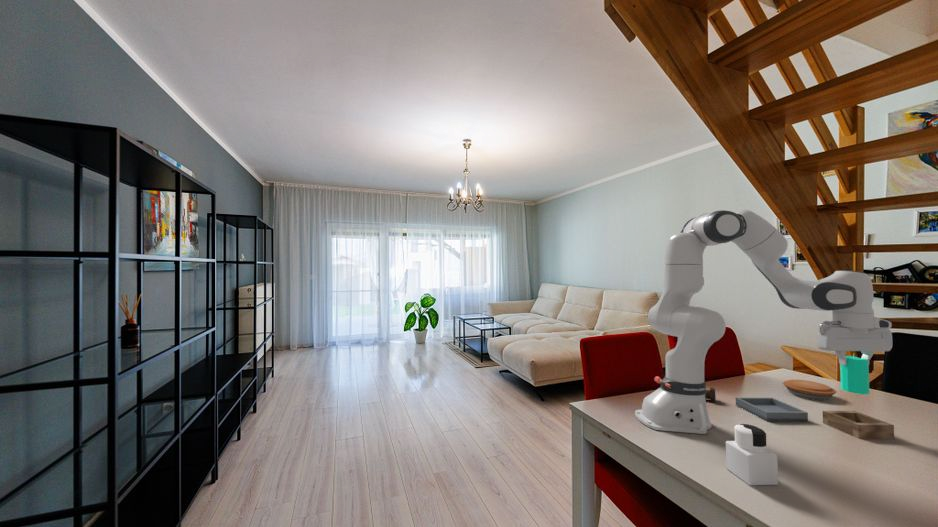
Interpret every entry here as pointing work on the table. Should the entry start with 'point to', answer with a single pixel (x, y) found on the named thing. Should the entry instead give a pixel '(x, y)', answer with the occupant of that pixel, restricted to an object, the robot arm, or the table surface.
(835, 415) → the brown wooden open box
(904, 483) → the table surface
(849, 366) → the teal green prism
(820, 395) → the pie
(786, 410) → the tray
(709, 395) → the dark brown oblong piece
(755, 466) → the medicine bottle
